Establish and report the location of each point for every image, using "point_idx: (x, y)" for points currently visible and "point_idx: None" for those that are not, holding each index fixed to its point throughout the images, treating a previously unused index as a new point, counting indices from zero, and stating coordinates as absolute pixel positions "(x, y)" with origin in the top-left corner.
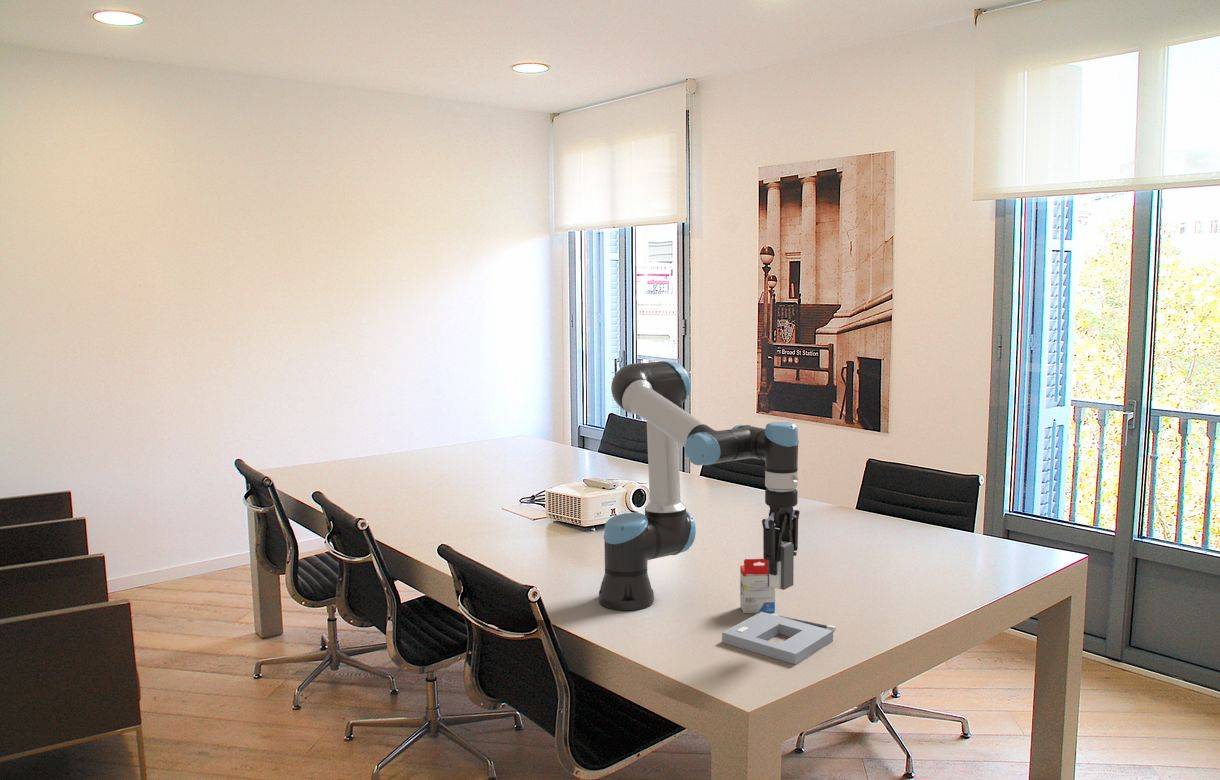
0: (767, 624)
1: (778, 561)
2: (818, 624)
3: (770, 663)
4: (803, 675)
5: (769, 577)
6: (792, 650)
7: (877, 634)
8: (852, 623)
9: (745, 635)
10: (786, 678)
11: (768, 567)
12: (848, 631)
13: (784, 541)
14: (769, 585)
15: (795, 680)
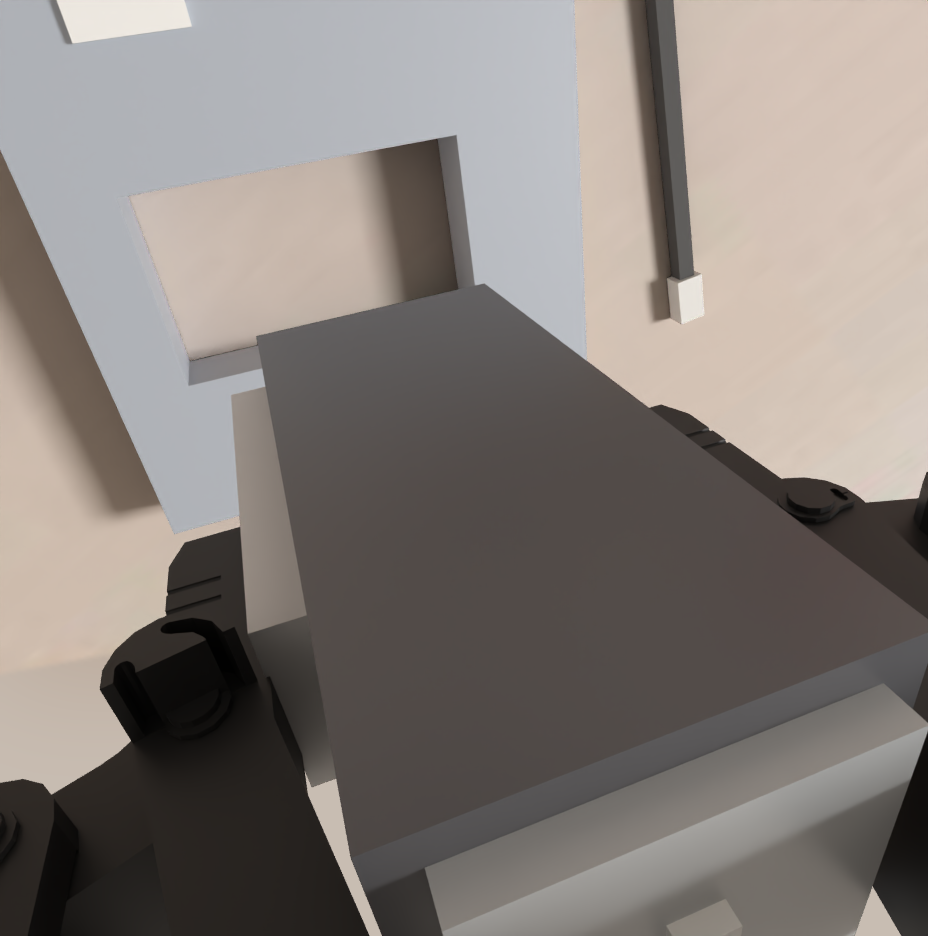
0: (382, 76)
1: (322, 762)
2: (681, 228)
3: (50, 420)
4: (120, 599)
5: (237, 451)
6: (192, 492)
7: (744, 451)
8: (806, 302)
9: (61, 113)
10: (7, 589)
11: (283, 461)
12: (708, 359)
13: (866, 867)
14: (233, 403)
15: (39, 621)
